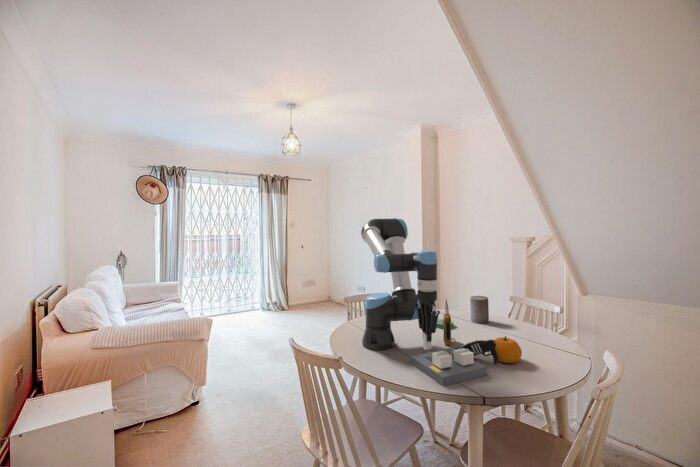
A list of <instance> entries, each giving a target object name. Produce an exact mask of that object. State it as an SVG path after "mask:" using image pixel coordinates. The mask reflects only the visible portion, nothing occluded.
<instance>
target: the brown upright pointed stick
mask: <svg viewBox="0 0 700 467" xmlns="http://www.w3.org/2000/svg"><path fill="white" fill-rule="evenodd" d="M447 301H448V300H447V299H445V301H444V302H445V305H446V306H445V308H444V310H445V313H443V314H442V315H443V316H442V317H443V319H444V329H443V343H444V345H445V346H450V348H451V349H453V350H458V349H461V348H462V347H464V346H465V345H466V344H465V343H463V342H459V341H456V339H455V338H452V328H451V321H452V317H451V315H450V312H449V305H448V302H447ZM452 340H454V342H455V343H457V344H459V346H457V347H456V348H454V347H452Z"/></svg>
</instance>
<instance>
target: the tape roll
mask: <svg viewBox="0 0 700 467" xmlns="http://www.w3.org/2000/svg"><path fill="white" fill-rule="evenodd" d="M454 323H455V322H454V321H453V320H451V329H453V328H454V326H455V325H454ZM436 329H440V330H444V318H438V320H437V326H436Z"/></svg>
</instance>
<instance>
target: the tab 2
mask: <svg viewBox="0 0 700 467" xmlns="http://www.w3.org/2000/svg"><path fill="white" fill-rule="evenodd" d="M462 348H463V347H462ZM462 348H457V349H453V350H454V361H455V362H457V363H459V364H461V365H462V366H464V365H469V364H473V363H474V356H475V355H474V353H473V352H471V351H469V349H465V348H463V349H462Z"/></svg>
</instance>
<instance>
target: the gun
mask: <svg viewBox="0 0 700 467" xmlns="http://www.w3.org/2000/svg"><path fill="white" fill-rule="evenodd" d="M494 340H495V339H487V340H486V339H485V340H478V339H477V340H475V341H470V342H468V343H466V344H465V345H463V346H462V347H461V349H463V348H465V349H469V351H471V352H473V353H474V356H478V355H482V356H484V357H489V356H492V357H493V364H494V365H495V364H497V363H498V362H499V361H498V357H497V353H496V351H495V347H496V343H495V341H494ZM486 353H487V354H486Z"/></svg>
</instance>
